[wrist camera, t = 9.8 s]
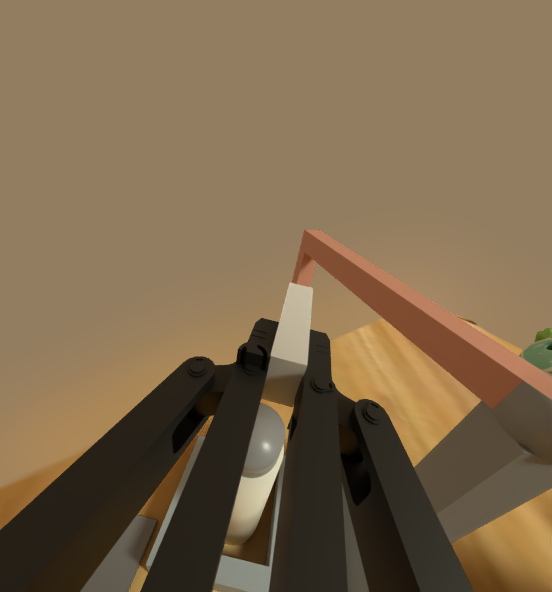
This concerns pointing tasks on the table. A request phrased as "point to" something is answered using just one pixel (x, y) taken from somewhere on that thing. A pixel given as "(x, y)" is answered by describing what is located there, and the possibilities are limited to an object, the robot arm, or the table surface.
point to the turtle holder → (540, 351)
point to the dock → (437, 484)
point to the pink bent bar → (444, 342)
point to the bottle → (257, 474)
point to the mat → (123, 558)
